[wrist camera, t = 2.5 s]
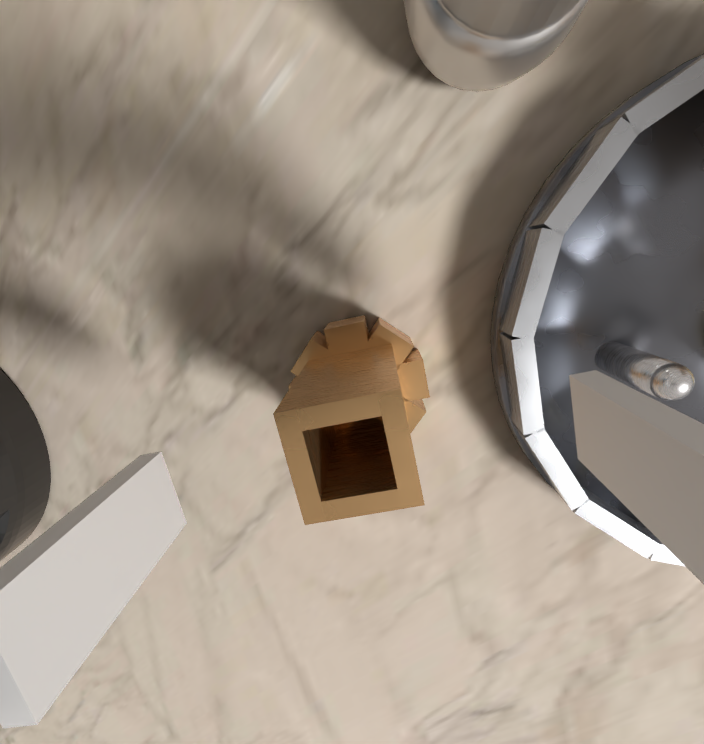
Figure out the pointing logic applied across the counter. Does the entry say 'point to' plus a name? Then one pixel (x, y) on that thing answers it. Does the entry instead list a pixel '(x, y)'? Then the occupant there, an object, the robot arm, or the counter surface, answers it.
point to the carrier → (608, 288)
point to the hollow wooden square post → (353, 421)
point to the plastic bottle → (487, 37)
